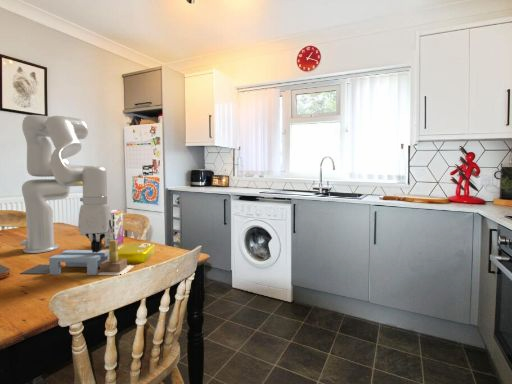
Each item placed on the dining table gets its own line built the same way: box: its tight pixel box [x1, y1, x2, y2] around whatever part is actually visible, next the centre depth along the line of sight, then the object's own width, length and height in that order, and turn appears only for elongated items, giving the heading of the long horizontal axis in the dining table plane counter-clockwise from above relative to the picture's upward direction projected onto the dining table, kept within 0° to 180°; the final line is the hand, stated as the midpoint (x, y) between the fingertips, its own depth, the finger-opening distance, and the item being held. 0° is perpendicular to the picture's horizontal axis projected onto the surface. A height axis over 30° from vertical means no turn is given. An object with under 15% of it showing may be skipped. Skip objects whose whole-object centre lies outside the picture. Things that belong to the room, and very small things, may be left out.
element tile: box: [118, 243, 156, 264], centre depth 120 cm, size 15×15×5 cm
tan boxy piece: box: [99, 240, 128, 273], centre depth 104 cm, size 7×6×11 cm
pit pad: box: [19, 263, 64, 275], centre depth 104 cm, size 9×9×1 cm
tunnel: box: [48, 249, 109, 276], centre depth 104 cm, size 16×9×6 cm, turn 90°
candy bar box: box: [103, 209, 124, 248], centre depth 139 cm, size 11×5×16 cm, turn 5°
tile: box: [97, 264, 135, 276], centre depth 104 cm, size 9×9×1 cm
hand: (96, 251), depth 104 cm, fingers closed
